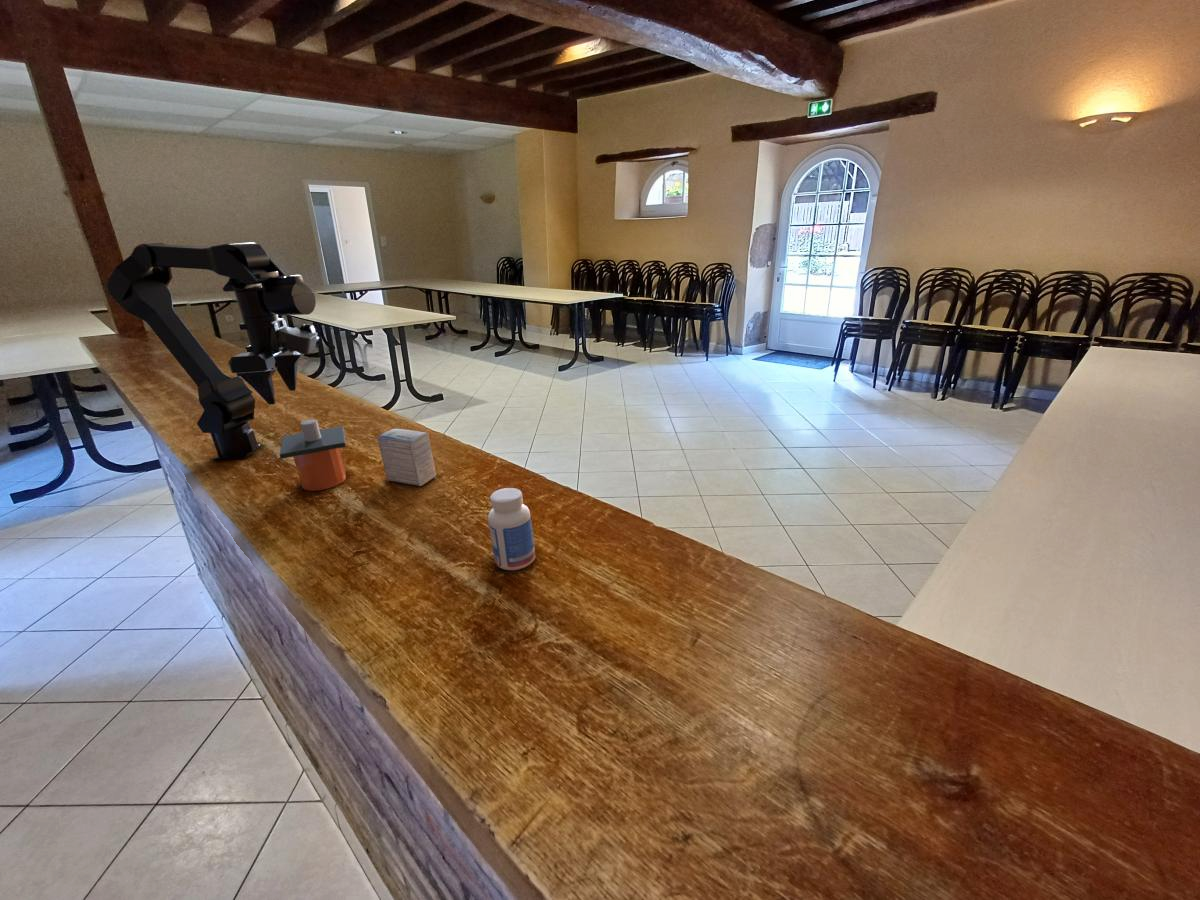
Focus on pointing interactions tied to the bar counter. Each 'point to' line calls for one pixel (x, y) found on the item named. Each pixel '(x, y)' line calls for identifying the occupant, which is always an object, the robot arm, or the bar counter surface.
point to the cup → (320, 469)
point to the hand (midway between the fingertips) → (283, 397)
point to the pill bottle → (511, 530)
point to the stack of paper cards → (407, 456)
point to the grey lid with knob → (312, 440)
